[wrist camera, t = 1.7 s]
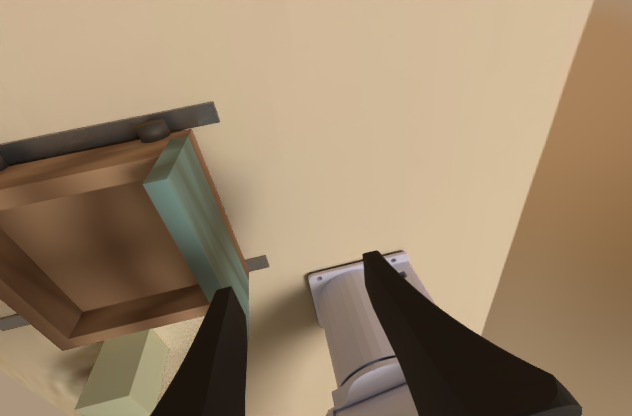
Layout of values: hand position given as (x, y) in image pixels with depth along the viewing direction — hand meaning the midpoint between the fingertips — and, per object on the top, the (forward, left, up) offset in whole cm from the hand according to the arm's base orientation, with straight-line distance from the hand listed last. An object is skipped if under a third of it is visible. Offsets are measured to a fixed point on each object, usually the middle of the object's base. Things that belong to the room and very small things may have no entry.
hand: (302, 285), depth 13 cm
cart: (+11, +1, -10) cm, 15 cm away
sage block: (+17, +14, -11) cm, 24 cm away
